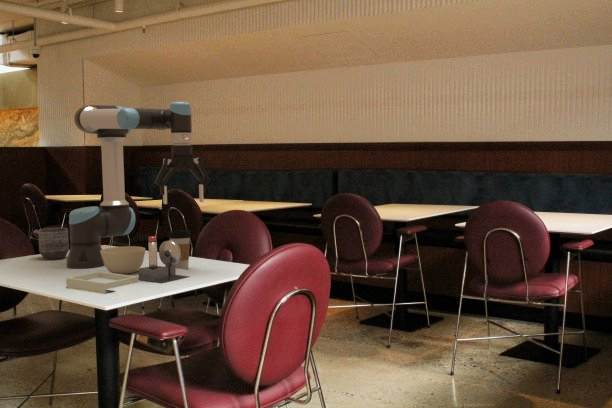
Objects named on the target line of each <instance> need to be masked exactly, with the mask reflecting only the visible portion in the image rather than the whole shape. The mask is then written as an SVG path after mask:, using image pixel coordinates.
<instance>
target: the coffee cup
mask: <svg viewBox="0 0 612 408" xmlns="http://www.w3.org/2000/svg"><path fill="white" fill-rule="evenodd" d="M191 236H192V235H191V232H190V230H189V229H185V230H173V231H169V233H168V239H169V240H173V241H175V242H176V243H177V244H178V245H179V247H180V250H181V259H180V261H179V263H178V264H176V265H175V269H180V270H188V269H189V263H190V260H189V259H190V248H191V247H190V245H191V242H190V241H191V240H190V238H191Z"/></svg>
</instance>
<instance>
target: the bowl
mask: <svg viewBox="0 0 612 408" xmlns="http://www.w3.org/2000/svg"><path fill="white" fill-rule="evenodd" d="M100 252H101V256H102V260H103V263H104V265H103V266H104V267H105V268H106V270H107V271H108V272H109V273H115V274H122V275H129V274H130V275H131V274H134V273H136V272H138V271H139V268H142V265H143V263H144V259H145V255H146V247H143V246H135V245H133V246H114V247H108V248H103V249H102V250H101V251H100Z"/></svg>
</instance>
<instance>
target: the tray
mask: <svg viewBox="0 0 612 408" xmlns="http://www.w3.org/2000/svg"><path fill="white" fill-rule="evenodd" d="M138 277H139V276H137V275H129V274H115V273H111V272H105V271H96V272H90V273H85V274H80V275H79V274H78V275H75V276H70V277H66V279H65V283H66V285H65V286H66V288H67V289H73V290H80V291H87V292H93V293H98V294H105V295H107V294H111V293H115V292H117V290H112V289H114V288H118V287H123V286H126V285H127V286H128V285H132V284H136V283H139V280H138ZM97 278H98V279H99V278H101V279H102V278H103V279H108V280H113V281H108V282H101V281H94V280H93V279H97Z"/></svg>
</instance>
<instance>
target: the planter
mask: <svg viewBox="0 0 612 408" xmlns="http://www.w3.org/2000/svg"><path fill="white" fill-rule="evenodd" d="M37 232H38V251H39V253H40V255H41V257H42V258H43V259H44V260H45V259H46V261H56V260H63V259H65V258H66V256H67V255H68V254H69V251H70V242H69V241H70V239H69V228H68V227H48V228H47V227H46V228H40V229H38V230H37Z"/></svg>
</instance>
